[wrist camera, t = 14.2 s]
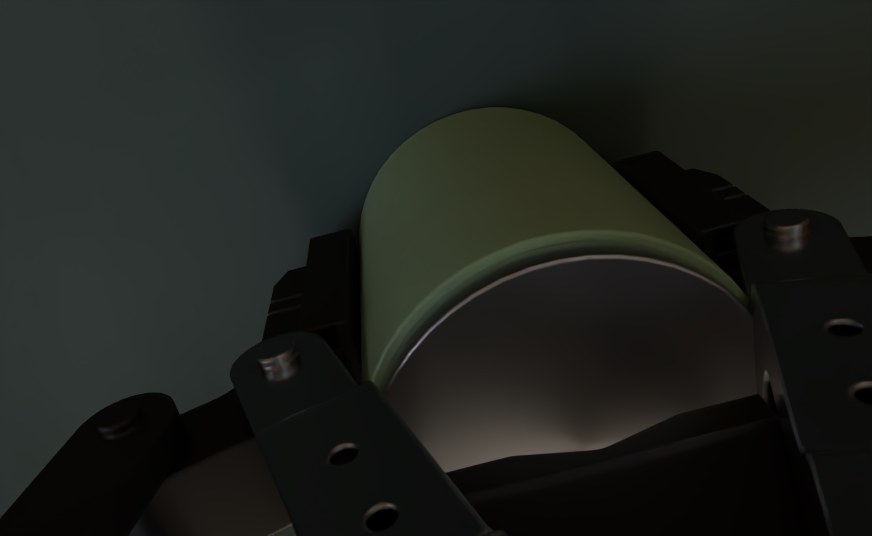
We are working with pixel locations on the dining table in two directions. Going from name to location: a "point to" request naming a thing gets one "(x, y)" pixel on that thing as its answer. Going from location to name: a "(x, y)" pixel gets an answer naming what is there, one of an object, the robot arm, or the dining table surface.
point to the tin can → (535, 296)
